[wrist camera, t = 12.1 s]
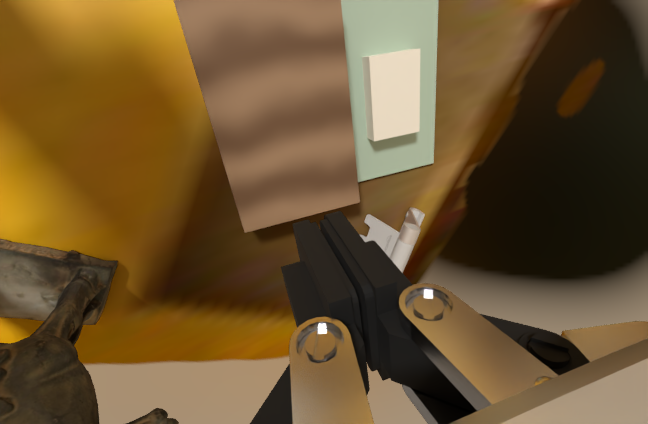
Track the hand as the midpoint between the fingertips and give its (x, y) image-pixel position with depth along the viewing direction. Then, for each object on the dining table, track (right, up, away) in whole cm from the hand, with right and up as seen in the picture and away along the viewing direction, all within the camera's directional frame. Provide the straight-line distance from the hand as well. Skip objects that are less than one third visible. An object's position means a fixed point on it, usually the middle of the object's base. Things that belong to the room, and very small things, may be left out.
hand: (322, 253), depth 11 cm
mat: (+8, +16, +27) cm, 32 cm away
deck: (-5, +12, +24) cm, 27 cm away
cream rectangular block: (+8, +14, +24) cm, 29 cm away
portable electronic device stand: (+9, -1, +35) cm, 37 cm away
